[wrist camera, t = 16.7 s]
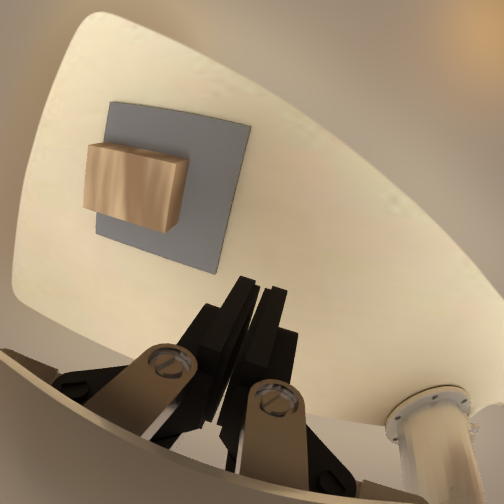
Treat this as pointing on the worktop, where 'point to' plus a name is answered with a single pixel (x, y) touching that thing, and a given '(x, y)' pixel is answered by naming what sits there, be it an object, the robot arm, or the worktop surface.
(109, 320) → the worktop surface
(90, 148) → the oak slab
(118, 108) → the rubber mat
